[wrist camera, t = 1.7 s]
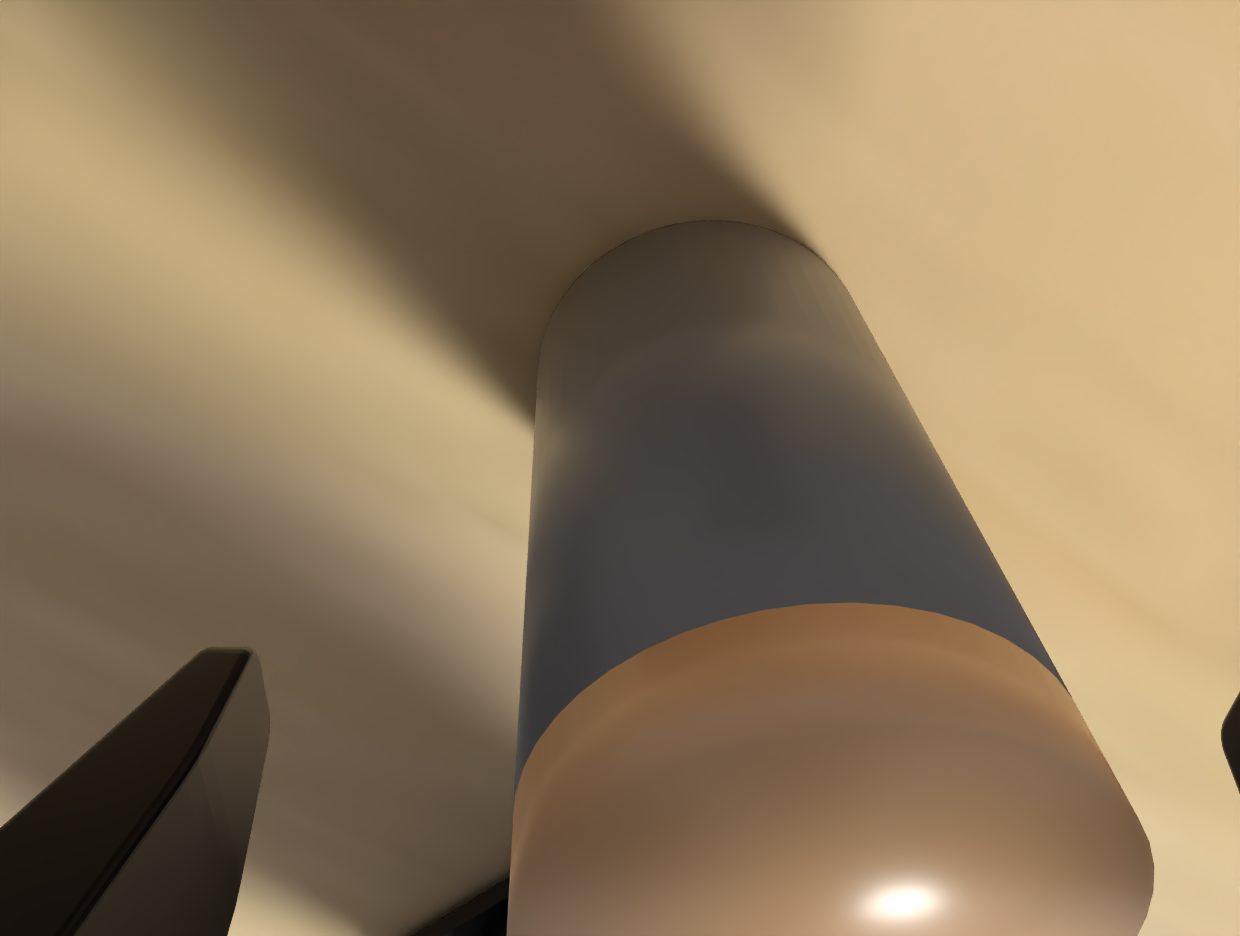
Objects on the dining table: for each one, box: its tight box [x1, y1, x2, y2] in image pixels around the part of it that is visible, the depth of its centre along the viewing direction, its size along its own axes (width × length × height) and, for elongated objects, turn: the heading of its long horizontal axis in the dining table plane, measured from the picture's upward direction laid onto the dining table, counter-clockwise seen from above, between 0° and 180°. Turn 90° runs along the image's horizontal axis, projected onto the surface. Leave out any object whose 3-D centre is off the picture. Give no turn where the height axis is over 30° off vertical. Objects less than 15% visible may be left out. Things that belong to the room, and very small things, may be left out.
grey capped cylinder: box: [507, 221, 1154, 936], centre depth 10 cm, size 4×4×8 cm
